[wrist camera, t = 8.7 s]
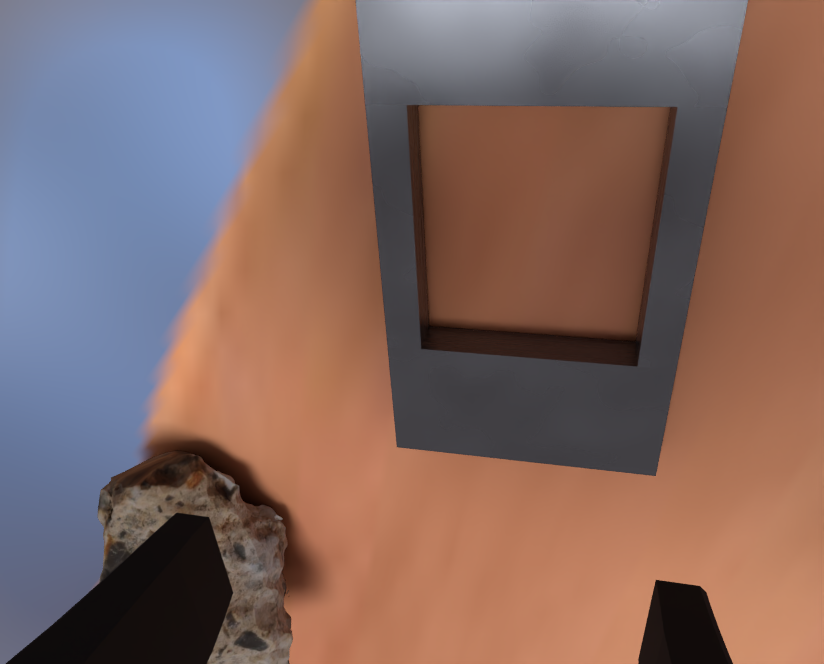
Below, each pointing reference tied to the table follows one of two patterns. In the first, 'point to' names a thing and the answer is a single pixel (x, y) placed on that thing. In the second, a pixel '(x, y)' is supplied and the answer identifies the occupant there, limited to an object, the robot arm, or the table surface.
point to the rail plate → (543, 86)
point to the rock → (236, 536)
